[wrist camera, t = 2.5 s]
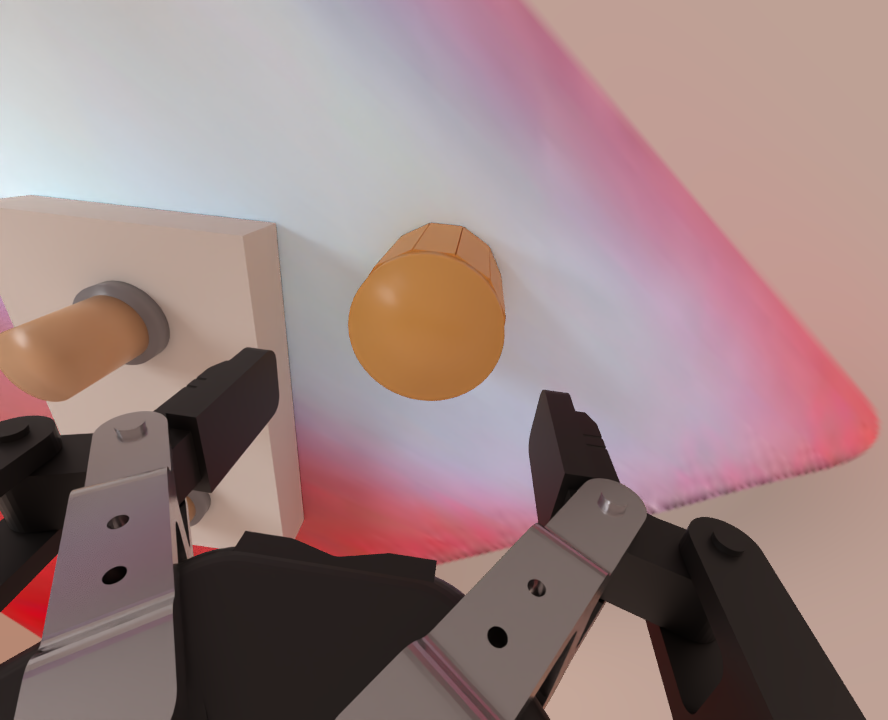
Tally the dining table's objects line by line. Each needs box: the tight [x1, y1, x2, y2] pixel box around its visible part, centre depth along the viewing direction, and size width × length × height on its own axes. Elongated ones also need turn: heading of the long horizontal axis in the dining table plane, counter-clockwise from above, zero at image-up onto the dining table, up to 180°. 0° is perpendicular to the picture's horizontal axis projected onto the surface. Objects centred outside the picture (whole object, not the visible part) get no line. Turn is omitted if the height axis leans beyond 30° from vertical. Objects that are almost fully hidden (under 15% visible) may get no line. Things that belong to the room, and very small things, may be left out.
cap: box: [348, 223, 506, 401], centre depth 17 cm, size 6×6×6 cm
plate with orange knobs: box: [0, 195, 304, 549], centre depth 21 cm, size 20×12×8 cm, turn 175°
